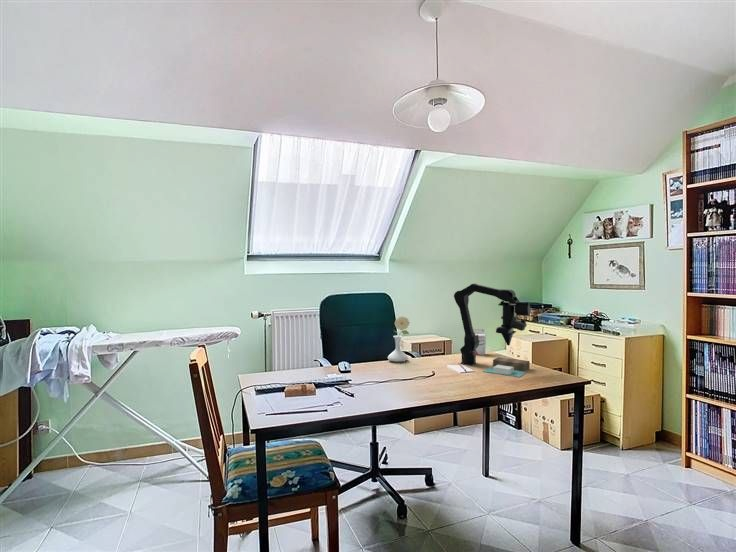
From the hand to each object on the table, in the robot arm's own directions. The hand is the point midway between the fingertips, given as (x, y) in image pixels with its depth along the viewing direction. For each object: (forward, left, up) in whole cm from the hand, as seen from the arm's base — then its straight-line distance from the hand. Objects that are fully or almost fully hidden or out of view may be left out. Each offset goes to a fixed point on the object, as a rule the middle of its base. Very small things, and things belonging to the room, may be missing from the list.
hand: (508, 345), depth 218 cm
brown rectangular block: (+1, +2, -12) cm, 12 cm away
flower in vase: (-55, -17, -12) cm, 59 cm away
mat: (+1, -7, -12) cm, 14 cm away
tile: (+1, -9, -10) cm, 14 cm away
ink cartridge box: (-26, +24, -12) cm, 38 cm away
